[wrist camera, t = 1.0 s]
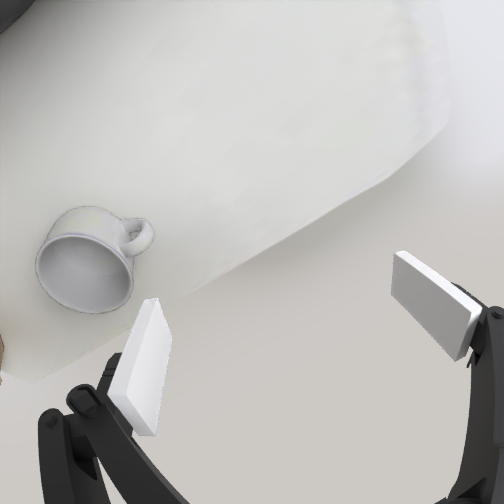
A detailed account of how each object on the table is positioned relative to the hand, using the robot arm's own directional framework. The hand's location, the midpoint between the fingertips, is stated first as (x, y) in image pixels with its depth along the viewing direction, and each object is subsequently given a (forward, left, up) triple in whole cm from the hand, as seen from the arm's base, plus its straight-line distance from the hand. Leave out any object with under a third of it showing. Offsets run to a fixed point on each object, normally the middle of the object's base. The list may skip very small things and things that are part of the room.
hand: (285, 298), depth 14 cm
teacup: (-1, -16, -19) cm, 25 cm away
